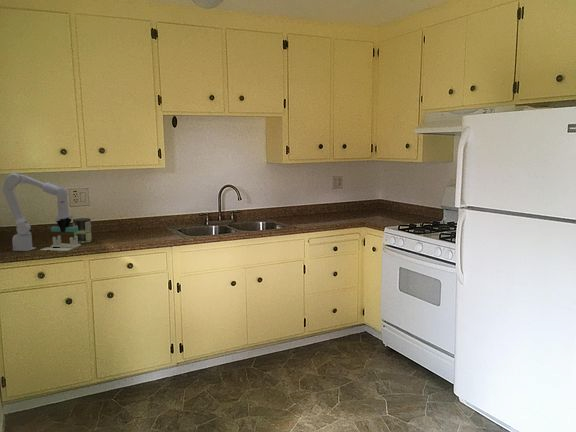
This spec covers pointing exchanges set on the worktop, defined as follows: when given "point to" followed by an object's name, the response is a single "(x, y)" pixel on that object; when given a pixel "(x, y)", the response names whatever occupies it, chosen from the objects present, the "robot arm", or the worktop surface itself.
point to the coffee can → (83, 229)
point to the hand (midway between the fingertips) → (64, 231)
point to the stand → (58, 244)
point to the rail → (67, 229)
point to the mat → (57, 249)
